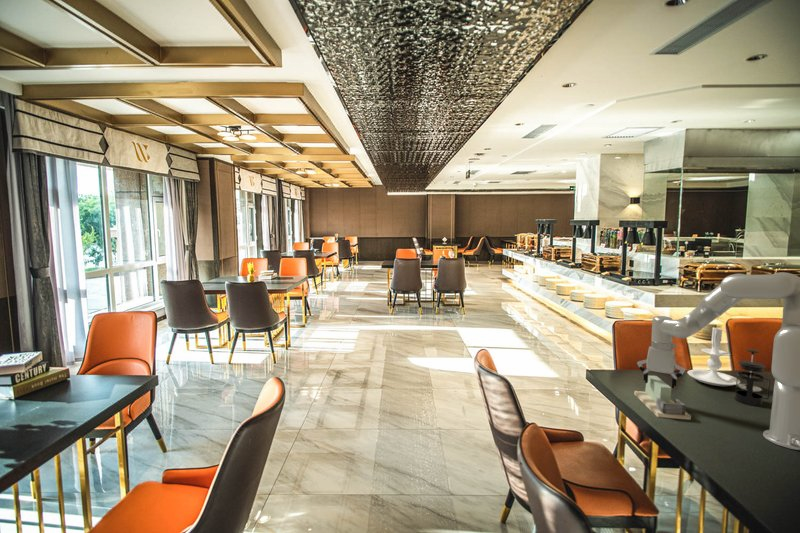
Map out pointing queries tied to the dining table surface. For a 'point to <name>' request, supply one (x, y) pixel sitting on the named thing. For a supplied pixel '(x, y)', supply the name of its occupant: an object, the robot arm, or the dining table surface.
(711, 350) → the candlestick
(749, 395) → the french press
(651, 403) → the board
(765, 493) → the dining table surface
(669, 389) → the pale green block
